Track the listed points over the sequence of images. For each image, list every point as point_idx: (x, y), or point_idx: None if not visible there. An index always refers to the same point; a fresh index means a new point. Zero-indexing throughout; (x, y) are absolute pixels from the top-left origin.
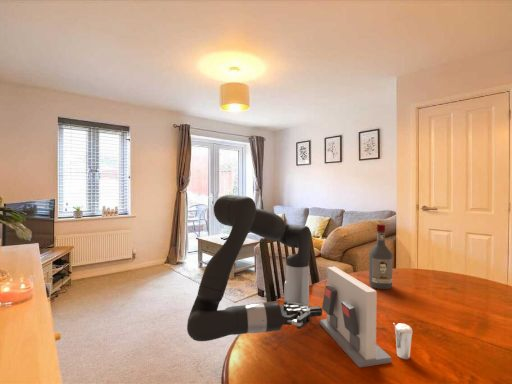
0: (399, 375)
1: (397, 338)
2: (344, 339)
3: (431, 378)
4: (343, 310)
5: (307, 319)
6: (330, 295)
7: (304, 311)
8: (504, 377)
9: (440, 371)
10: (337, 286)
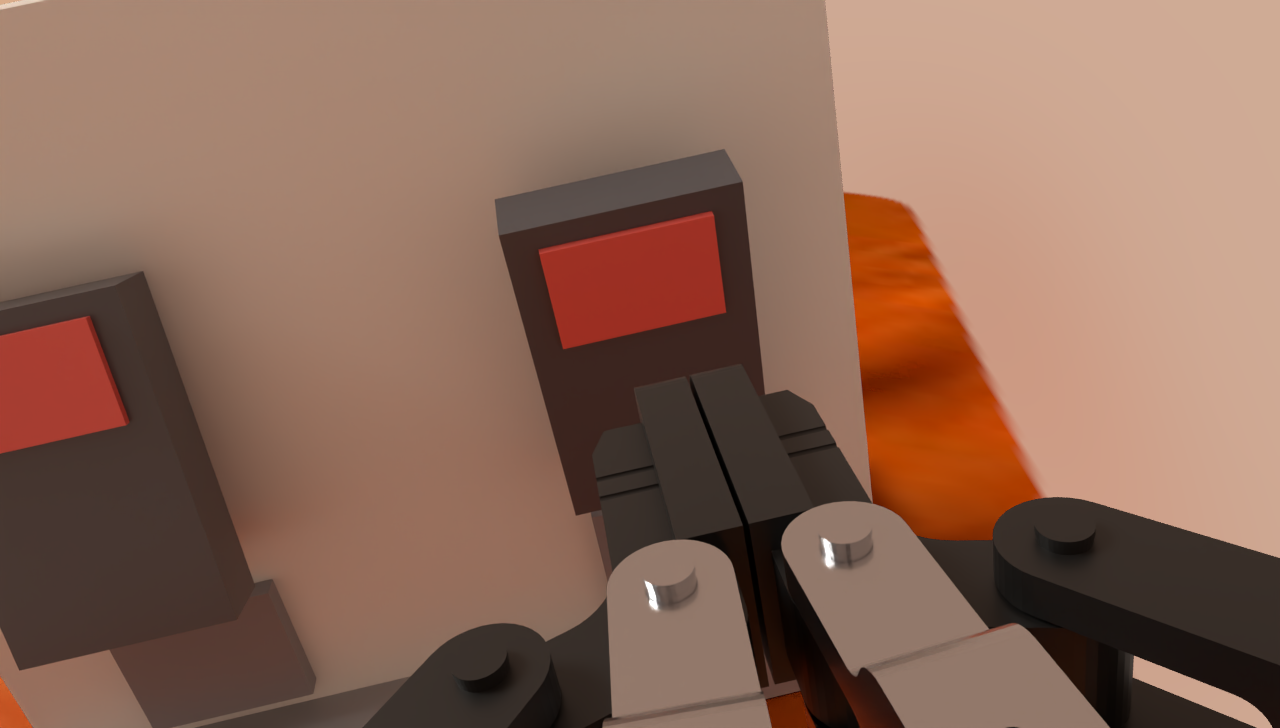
0: (978, 458)
1: None
2: None
3: (968, 353)
4: (580, 311)
5: (1127, 690)
6: (109, 376)
7: (974, 619)
8: (895, 202)
9: (888, 319)
10: (102, 208)
